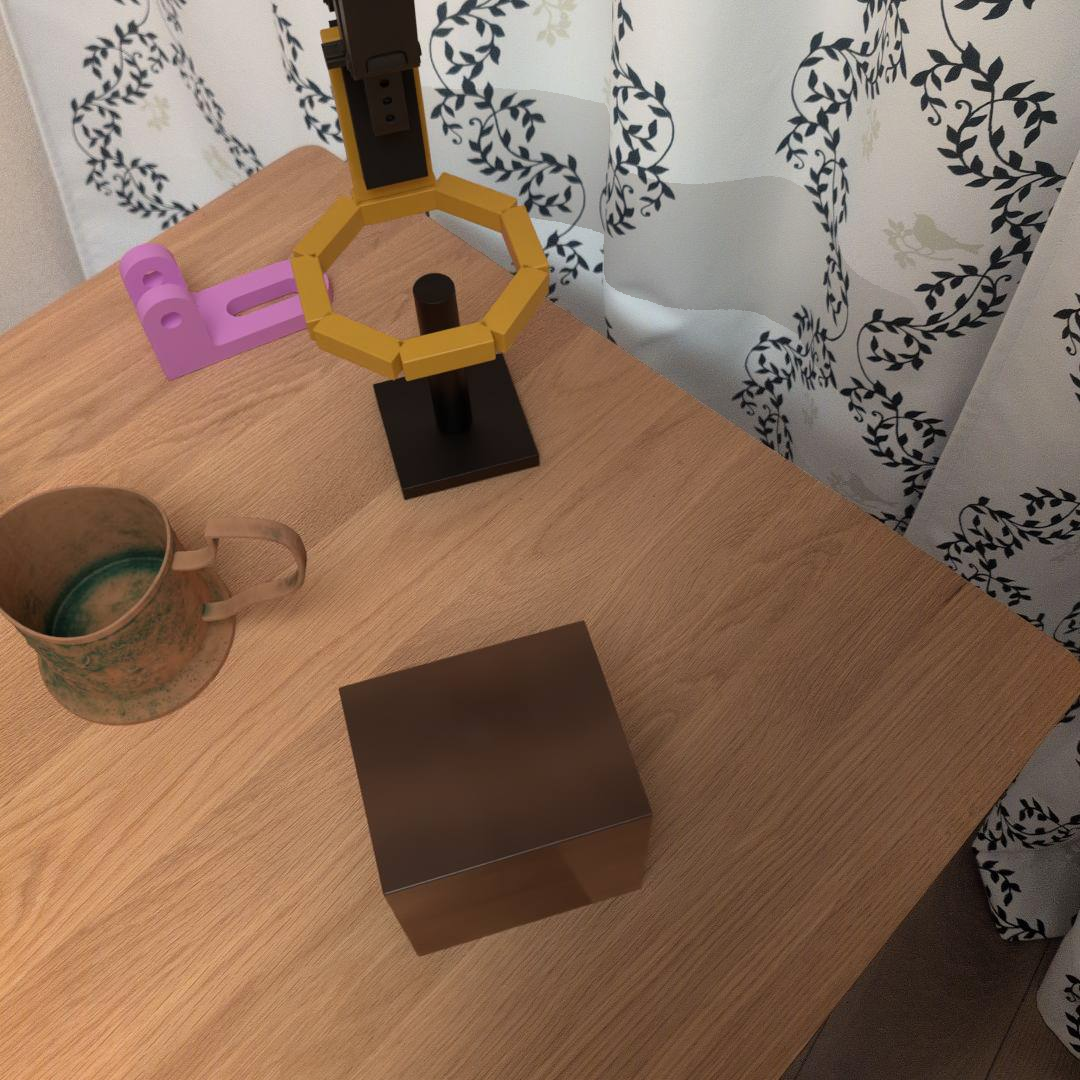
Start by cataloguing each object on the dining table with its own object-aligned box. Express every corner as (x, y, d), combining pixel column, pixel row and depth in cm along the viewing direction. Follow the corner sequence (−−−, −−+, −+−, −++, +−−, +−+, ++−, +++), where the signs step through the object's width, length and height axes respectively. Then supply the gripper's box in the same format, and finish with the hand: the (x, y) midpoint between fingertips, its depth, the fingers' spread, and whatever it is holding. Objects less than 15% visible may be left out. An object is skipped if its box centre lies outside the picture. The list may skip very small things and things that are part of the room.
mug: (325, 723, 65) (277, 626, 55) (19, 726, 66) (-84, 631, 56) (343, 549, 71) (304, 433, 61) (63, 554, 72) (-23, 439, 62)
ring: (573, 340, 48) (572, 163, 40) (326, 401, 46) (274, 231, 38) (505, 175, 53) (492, -11, 45) (282, 226, 51) (228, 44, 44)
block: (641, 888, 60) (653, 814, 50) (418, 957, 59) (383, 895, 48) (584, 717, 65) (584, 619, 55) (377, 777, 64) (337, 687, 53)
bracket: (168, 381, 79) (134, 310, 73) (145, 327, 82) (110, 255, 76) (343, 313, 82) (324, 240, 76) (315, 263, 84) (295, 189, 79)
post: (540, 465, 74) (532, 326, 63) (404, 500, 73) (371, 365, 62) (503, 363, 79) (490, 216, 68) (375, 395, 78) (340, 251, 67)
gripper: (474, -485, 27) (519, 257, 47) (352, -662, 33) (437, 51, 54) (149, -436, 26) (338, 300, 46) (93, -627, 33) (279, 84, 53)
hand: (391, 165), depth 50 cm, fingers closed on ring
